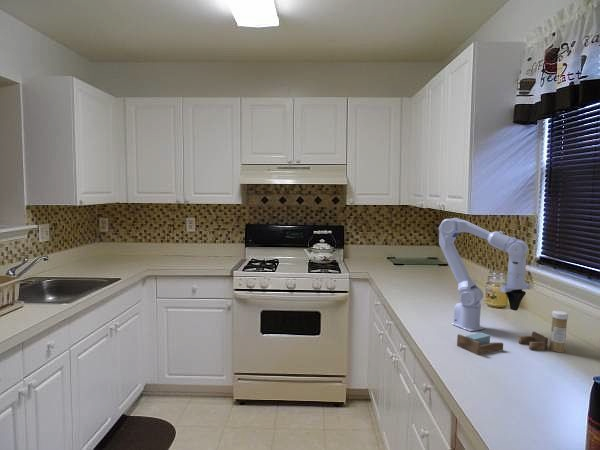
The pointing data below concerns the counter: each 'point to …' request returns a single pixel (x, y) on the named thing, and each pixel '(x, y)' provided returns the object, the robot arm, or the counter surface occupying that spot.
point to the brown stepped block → (534, 341)
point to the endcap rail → (477, 345)
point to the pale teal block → (480, 338)
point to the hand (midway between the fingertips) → (514, 309)
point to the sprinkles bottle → (558, 330)
